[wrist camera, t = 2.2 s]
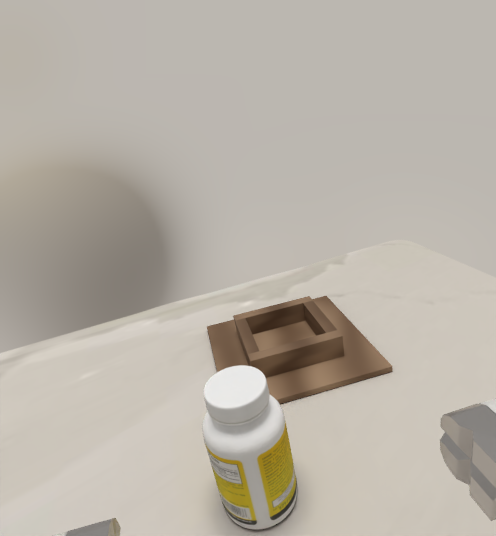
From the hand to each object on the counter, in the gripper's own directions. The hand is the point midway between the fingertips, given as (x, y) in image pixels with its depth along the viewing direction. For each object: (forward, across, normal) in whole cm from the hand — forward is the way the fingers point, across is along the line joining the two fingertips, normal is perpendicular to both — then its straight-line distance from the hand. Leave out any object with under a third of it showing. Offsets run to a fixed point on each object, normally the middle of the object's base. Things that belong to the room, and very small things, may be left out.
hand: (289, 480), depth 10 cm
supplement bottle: (+13, 0, -17) cm, 22 cm away
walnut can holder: (+29, +6, -17) cm, 34 cm away
